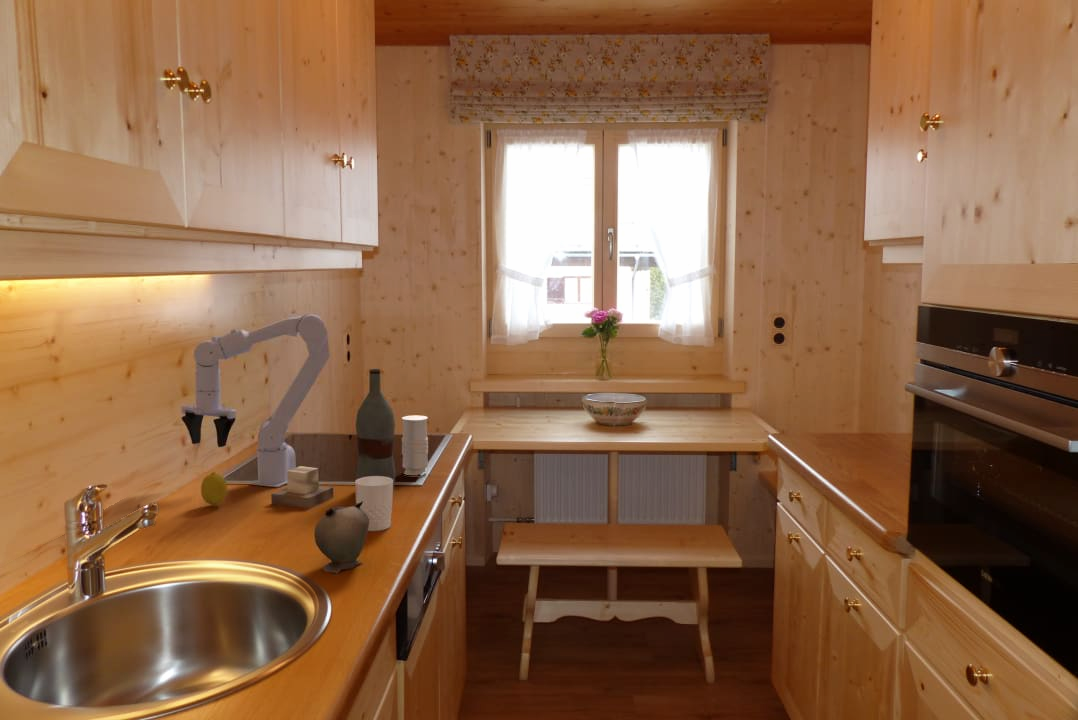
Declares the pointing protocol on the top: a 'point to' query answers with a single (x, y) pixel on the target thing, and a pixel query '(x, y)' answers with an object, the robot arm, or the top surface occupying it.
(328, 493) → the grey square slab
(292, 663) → the top surface
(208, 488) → the lemon
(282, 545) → the top surface
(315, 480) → the maple cube
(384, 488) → the white cup
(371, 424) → the bottle
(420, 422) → the stack of cups
